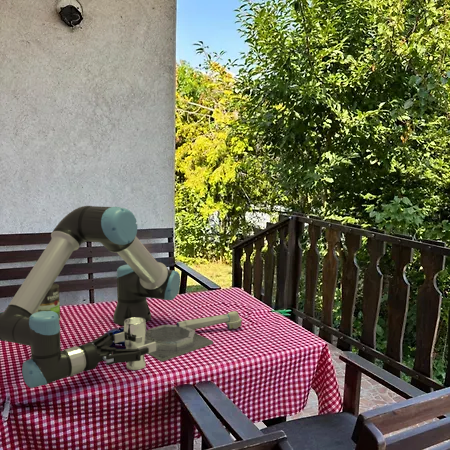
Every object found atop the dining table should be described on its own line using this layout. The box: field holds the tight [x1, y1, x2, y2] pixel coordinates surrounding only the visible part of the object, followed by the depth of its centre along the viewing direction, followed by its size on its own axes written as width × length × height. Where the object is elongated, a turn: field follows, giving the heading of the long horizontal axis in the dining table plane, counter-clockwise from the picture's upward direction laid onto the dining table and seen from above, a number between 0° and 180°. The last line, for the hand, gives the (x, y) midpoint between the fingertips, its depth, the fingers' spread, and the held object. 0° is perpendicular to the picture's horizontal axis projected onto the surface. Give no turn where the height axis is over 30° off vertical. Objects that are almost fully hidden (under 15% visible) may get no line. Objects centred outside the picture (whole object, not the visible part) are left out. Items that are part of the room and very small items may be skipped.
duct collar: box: [145, 324, 214, 362], centre depth 163 cm, size 22×22×3 cm
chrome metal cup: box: [123, 317, 147, 371], centre depth 143 cm, size 7×7×15 cm
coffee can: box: [35, 283, 61, 321], centre depth 185 cm, size 10×10×14 cm
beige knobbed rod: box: [176, 310, 243, 331], centre depth 174 cm, size 5×7×25 cm
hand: (143, 339), depth 145 cm, fingers open, 13 cm apart
